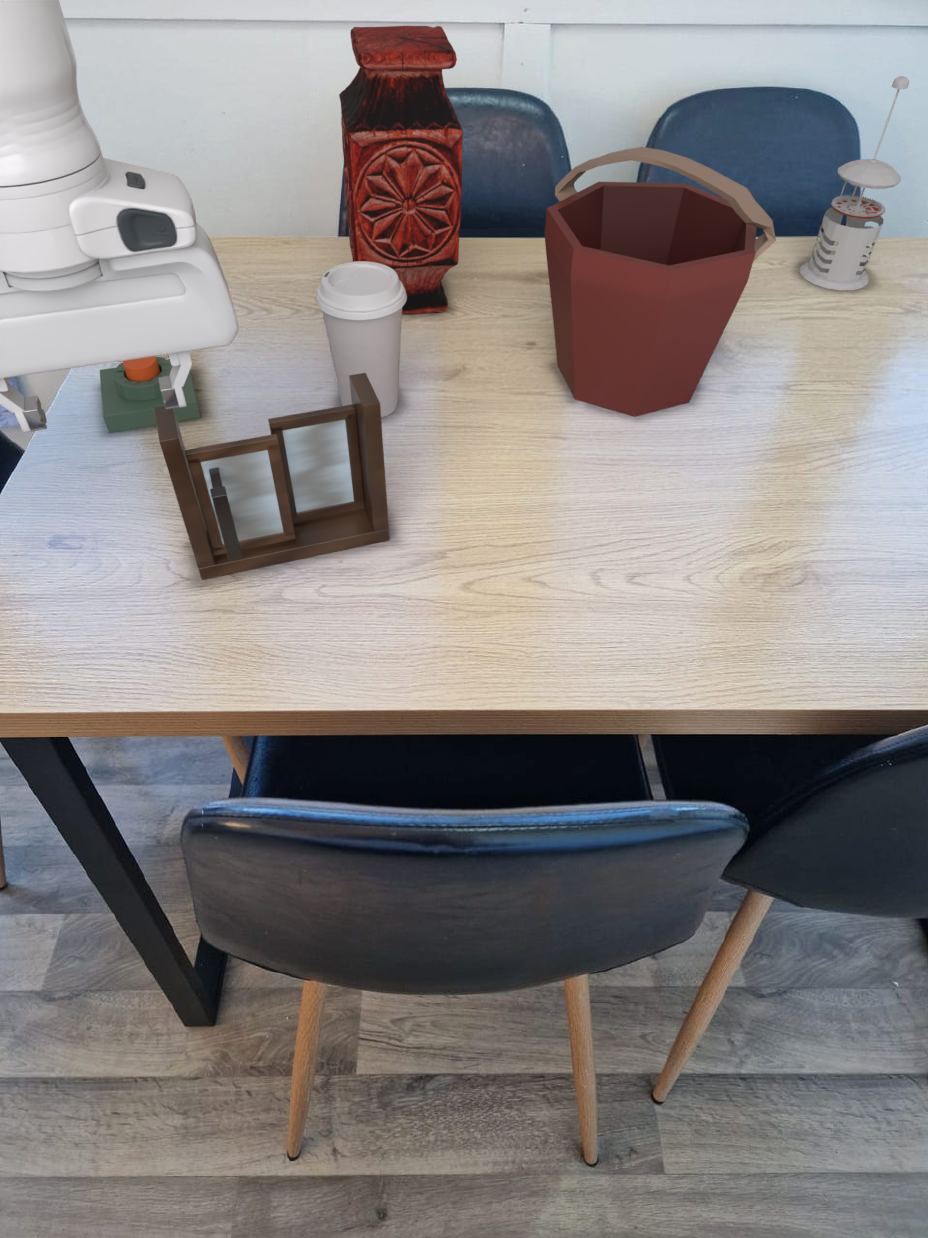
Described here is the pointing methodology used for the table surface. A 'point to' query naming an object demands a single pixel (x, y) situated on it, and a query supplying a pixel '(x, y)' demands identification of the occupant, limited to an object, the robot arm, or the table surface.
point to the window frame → (302, 483)
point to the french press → (852, 223)
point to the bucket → (647, 279)
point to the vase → (403, 159)
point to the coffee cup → (364, 326)
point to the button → (141, 368)
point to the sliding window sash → (242, 494)
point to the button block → (140, 398)
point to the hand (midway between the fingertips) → (107, 415)
